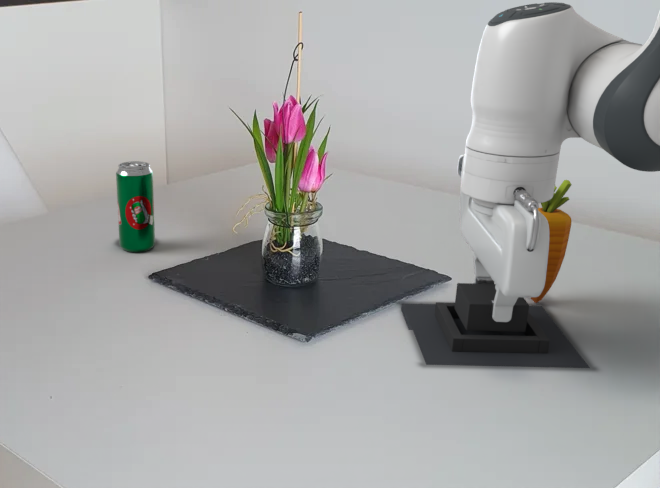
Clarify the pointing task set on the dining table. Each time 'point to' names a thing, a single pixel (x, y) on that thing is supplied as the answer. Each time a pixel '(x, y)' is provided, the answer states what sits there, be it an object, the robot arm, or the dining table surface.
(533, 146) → the robot arm
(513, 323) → the black block
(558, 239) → the carrot
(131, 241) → the soda can
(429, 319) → the socket mat
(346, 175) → the dining table surface
